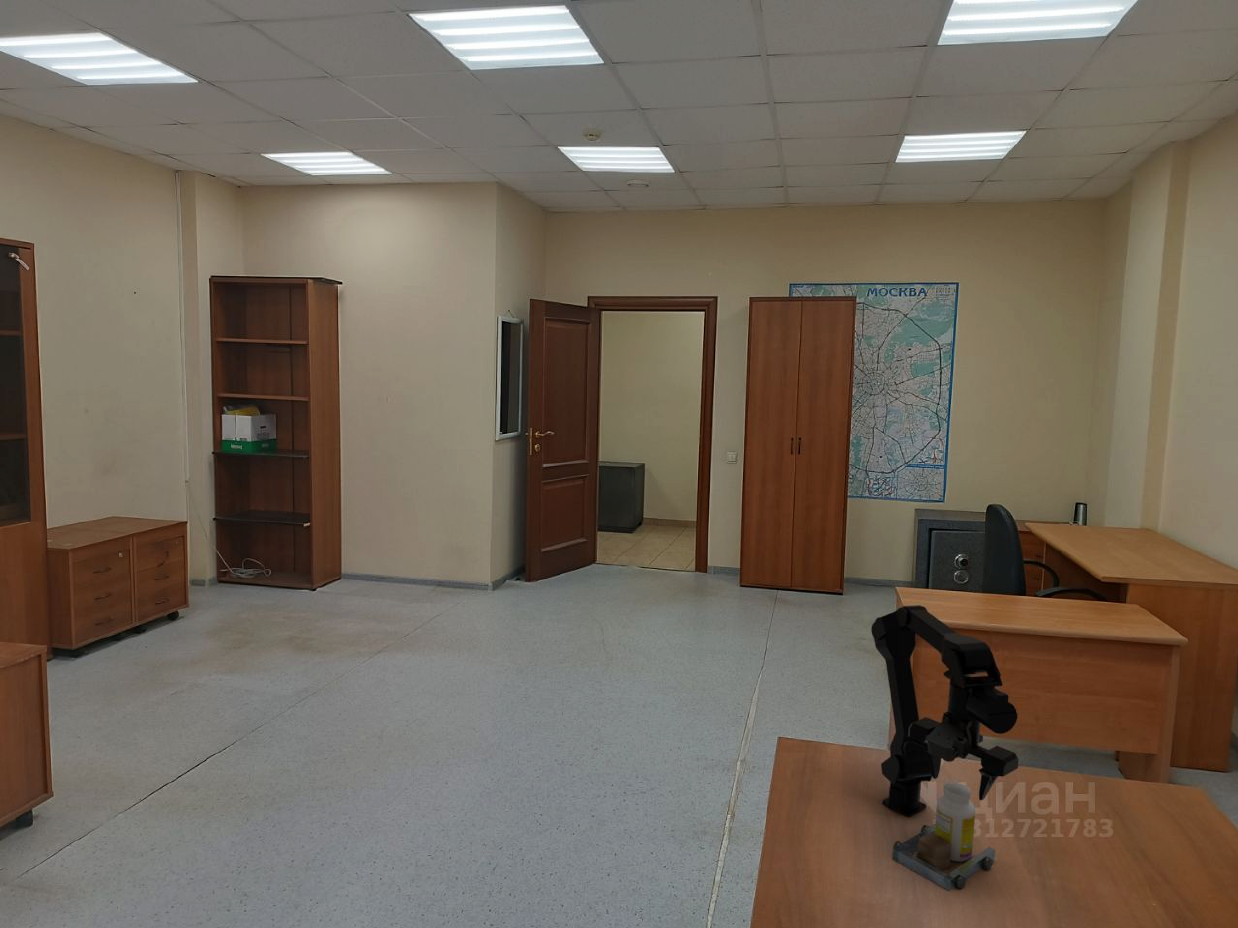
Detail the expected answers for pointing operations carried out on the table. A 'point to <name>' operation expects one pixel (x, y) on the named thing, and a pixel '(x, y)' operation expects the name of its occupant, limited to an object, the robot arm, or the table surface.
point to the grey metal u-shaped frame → (947, 881)
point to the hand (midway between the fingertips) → (957, 788)
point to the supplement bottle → (956, 820)
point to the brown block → (934, 851)
